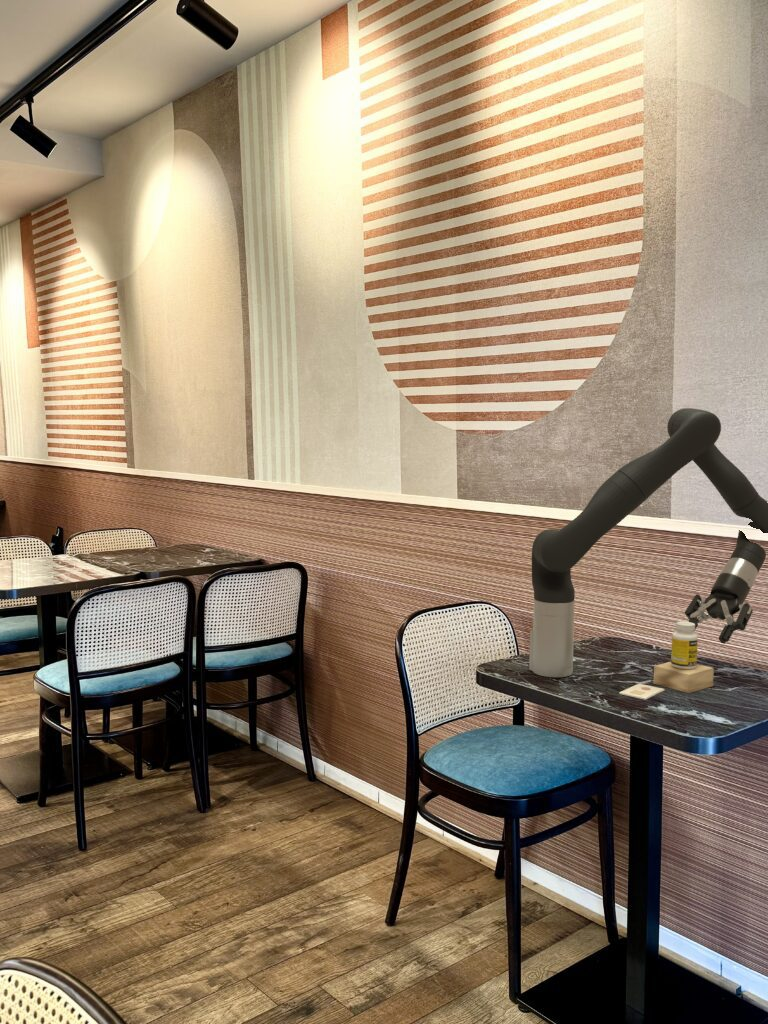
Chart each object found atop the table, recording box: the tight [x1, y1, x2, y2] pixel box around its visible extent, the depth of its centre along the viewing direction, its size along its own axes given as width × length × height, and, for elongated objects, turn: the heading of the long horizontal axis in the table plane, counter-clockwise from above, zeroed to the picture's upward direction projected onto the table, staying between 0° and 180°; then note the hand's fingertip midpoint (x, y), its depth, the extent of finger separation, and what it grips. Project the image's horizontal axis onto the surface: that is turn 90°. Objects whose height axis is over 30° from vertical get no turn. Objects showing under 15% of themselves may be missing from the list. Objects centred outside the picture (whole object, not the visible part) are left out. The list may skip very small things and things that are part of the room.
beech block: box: [652, 661, 715, 694], centre depth 200 cm, size 9×9×4 cm
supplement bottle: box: [670, 621, 699, 669], centre depth 199 cm, size 5×5×10 cm
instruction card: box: [619, 683, 666, 701], centre depth 194 cm, size 6×9×1 cm, turn 137°
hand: (704, 637), depth 203 cm, fingers open, 8 cm apart
